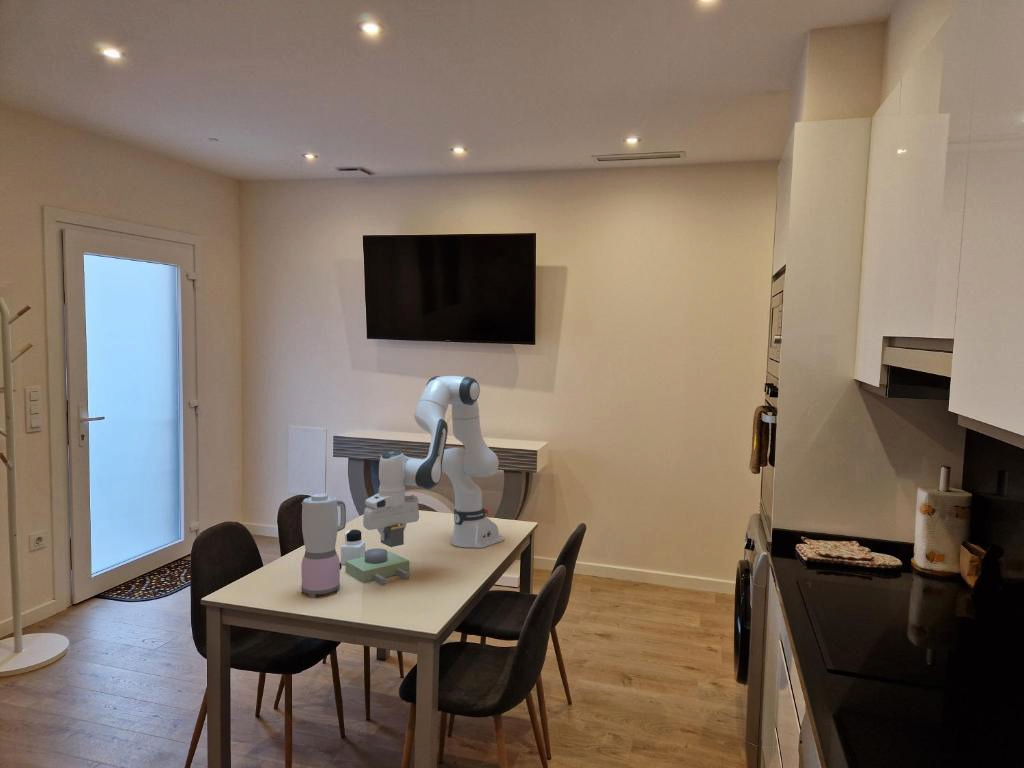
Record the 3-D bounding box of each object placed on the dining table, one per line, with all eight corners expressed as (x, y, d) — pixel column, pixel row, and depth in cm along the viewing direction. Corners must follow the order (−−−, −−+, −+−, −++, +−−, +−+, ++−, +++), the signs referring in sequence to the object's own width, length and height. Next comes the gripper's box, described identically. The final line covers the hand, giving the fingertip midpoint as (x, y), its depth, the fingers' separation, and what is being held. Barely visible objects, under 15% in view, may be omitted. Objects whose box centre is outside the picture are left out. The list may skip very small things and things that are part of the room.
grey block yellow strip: (393, 539, 236) (393, 521, 235) (403, 544, 230) (403, 525, 230) (380, 542, 233) (380, 523, 232) (390, 547, 227) (390, 528, 227)
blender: (312, 601, 213) (310, 501, 211) (294, 590, 222) (292, 495, 220) (355, 588, 224) (354, 494, 222) (337, 579, 233) (336, 488, 231)
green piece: (390, 561, 252) (389, 543, 251) (418, 576, 236) (418, 556, 236) (345, 571, 240) (345, 552, 240) (372, 587, 225) (371, 567, 224)
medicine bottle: (365, 559, 254) (365, 528, 253) (359, 565, 247) (359, 533, 246) (347, 559, 255) (347, 527, 254) (340, 565, 248) (340, 533, 247)
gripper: (413, 492, 240) (413, 530, 240) (360, 500, 227) (361, 541, 227) (422, 495, 235) (422, 534, 236) (369, 504, 222) (369, 545, 223)
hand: (392, 538), depth 231 cm, fingers closed on grey block yellow strip, 5 cm apart
